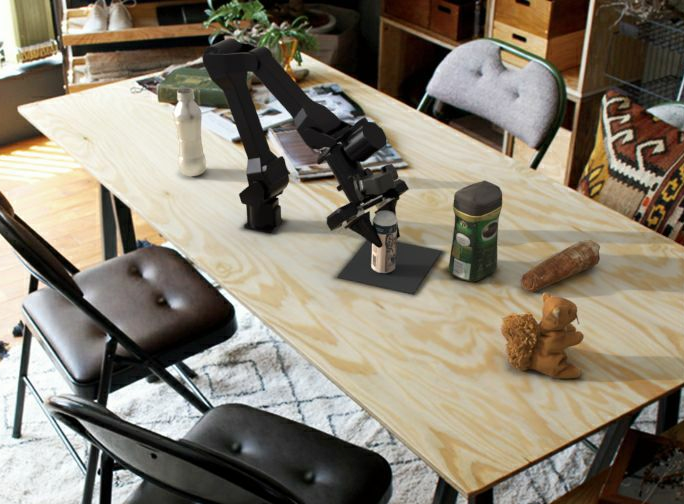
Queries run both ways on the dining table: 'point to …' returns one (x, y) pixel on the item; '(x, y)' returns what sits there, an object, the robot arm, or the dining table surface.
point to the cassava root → (562, 265)
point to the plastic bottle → (189, 134)
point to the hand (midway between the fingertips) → (389, 242)
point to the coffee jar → (475, 231)
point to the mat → (403, 278)
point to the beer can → (385, 242)
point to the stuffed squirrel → (543, 338)
